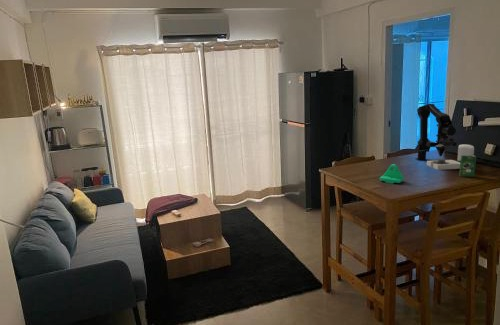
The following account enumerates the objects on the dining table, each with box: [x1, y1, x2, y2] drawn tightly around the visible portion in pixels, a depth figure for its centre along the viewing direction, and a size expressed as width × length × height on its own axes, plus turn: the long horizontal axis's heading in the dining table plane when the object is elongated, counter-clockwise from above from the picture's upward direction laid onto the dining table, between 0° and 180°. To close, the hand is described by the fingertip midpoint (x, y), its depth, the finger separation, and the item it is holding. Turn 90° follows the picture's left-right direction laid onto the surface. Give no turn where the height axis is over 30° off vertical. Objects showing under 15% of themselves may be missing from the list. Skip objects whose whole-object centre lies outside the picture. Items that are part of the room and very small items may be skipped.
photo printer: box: [457, 143, 475, 162], centre depth 267 cm, size 10×4×12 cm, turn 39°
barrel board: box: [426, 159, 461, 171], centre depth 255 cm, size 14×18×3 cm
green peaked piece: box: [379, 163, 404, 185], centre depth 224 cm, size 12×8×10 cm, turn 52°
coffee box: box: [458, 155, 477, 178], centre depth 229 cm, size 8×3×13 cm, turn 77°
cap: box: [434, 158, 446, 164], centre depth 255 cm, size 6×6×5 cm
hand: (440, 156), depth 254 cm, fingers closed
